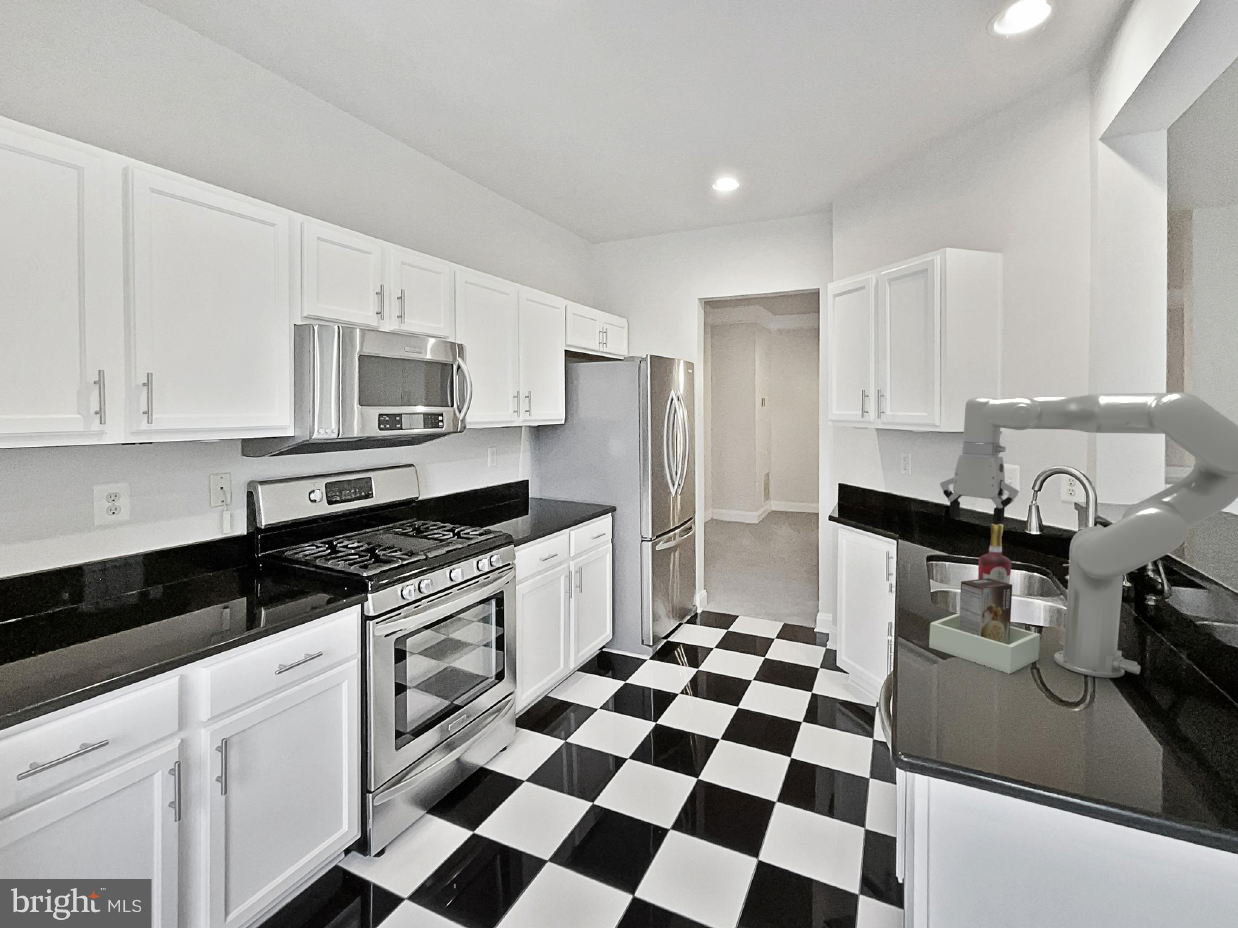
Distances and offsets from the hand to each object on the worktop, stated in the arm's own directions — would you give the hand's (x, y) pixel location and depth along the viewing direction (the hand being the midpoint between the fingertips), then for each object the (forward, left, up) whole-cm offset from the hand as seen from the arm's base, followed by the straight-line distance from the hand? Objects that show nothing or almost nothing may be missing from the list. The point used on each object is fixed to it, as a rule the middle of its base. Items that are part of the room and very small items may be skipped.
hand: (975, 520), depth 149 cm
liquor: (+1, -14, -31) cm, 34 cm away
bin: (-5, +3, -31) cm, 31 cm away
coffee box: (-5, +3, -30) cm, 30 cm away
